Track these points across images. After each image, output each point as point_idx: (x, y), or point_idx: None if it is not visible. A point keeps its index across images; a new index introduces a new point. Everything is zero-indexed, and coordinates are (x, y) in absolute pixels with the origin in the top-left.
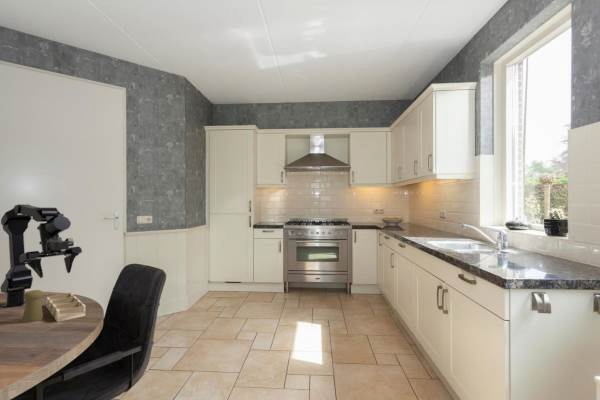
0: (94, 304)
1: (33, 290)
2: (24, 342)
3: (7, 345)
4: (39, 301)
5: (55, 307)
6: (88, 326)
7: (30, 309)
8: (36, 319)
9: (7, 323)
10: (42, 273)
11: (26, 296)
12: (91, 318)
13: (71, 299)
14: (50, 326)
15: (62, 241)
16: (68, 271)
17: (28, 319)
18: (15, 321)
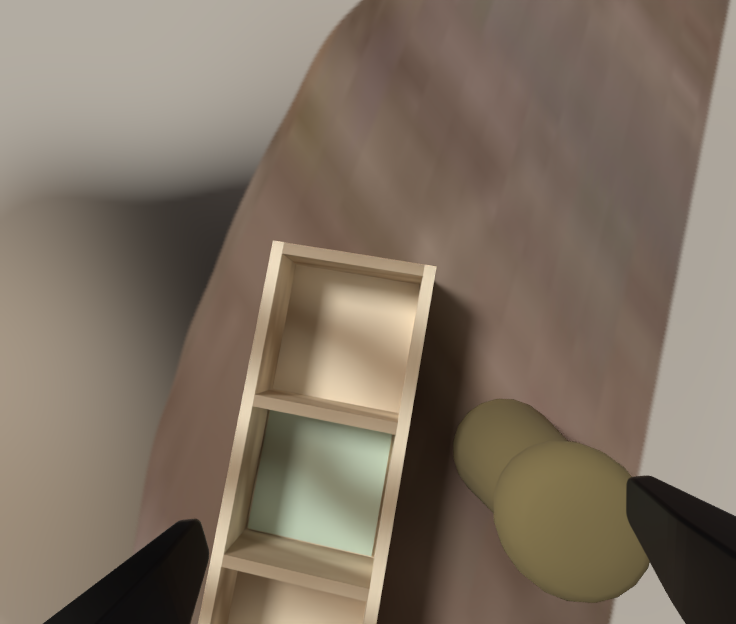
0: (157, 447)
1: (589, 559)
2: (635, 92)
3: (699, 116)
4: (512, 452)
5: (413, 374)
6: (357, 65)
7: (558, 434)
8: (503, 400)
9: None
10: (681, 514)
11: None
12: (292, 180)
13: (246, 550)
14: (479, 232)
15: None
16: (191, 549)
17: (544, 418)
18: None
